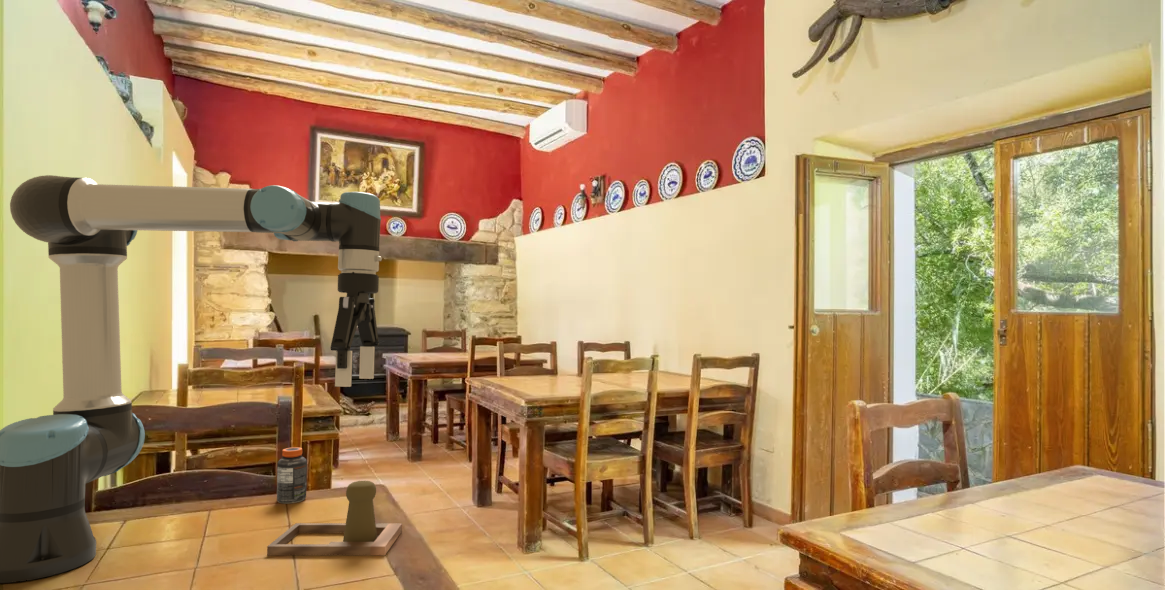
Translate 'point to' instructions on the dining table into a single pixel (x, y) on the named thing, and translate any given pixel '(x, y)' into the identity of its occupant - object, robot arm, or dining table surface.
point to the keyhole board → (378, 547)
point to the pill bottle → (291, 476)
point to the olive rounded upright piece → (360, 512)
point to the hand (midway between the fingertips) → (355, 382)
